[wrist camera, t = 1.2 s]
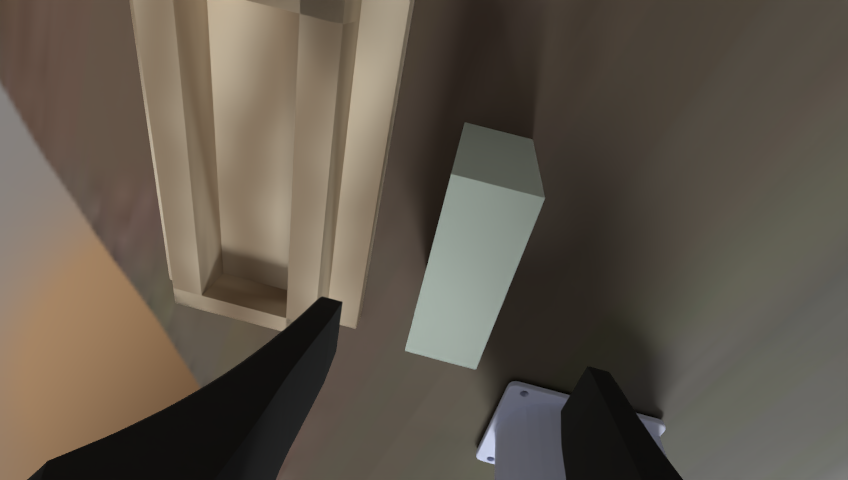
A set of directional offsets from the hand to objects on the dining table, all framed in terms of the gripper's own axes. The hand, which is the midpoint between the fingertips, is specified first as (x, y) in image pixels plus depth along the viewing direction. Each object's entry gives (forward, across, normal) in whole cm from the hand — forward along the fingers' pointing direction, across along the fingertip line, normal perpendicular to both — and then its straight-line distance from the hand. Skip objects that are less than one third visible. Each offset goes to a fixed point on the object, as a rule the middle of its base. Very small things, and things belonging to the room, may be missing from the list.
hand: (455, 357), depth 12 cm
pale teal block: (+10, 0, 0) cm, 10 cm away
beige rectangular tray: (+9, +10, 0) cm, 14 cm away
